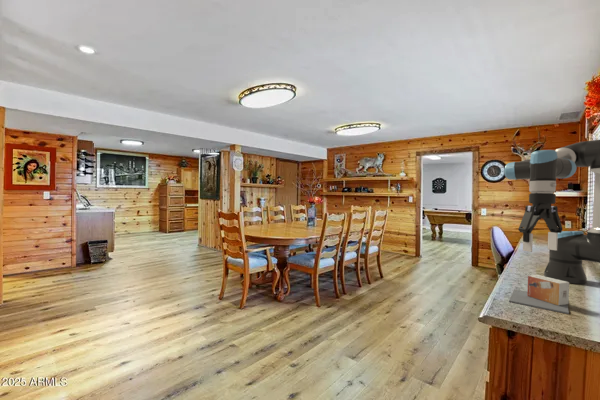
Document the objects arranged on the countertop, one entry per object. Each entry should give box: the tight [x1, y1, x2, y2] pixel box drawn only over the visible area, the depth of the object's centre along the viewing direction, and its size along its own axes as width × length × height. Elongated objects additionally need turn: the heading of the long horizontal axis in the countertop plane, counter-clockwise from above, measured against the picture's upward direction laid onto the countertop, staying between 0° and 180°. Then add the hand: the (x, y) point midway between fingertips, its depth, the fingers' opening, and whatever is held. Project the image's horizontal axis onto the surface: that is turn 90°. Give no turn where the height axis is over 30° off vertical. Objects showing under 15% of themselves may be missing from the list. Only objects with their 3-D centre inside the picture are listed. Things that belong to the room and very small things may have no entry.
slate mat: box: [508, 288, 570, 315], centre depth 108 cm, size 18×16×1 cm
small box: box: [526, 274, 570, 306], centre depth 108 cm, size 8×6×10 cm
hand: (540, 250), depth 108 cm, fingers open, 13 cm apart
